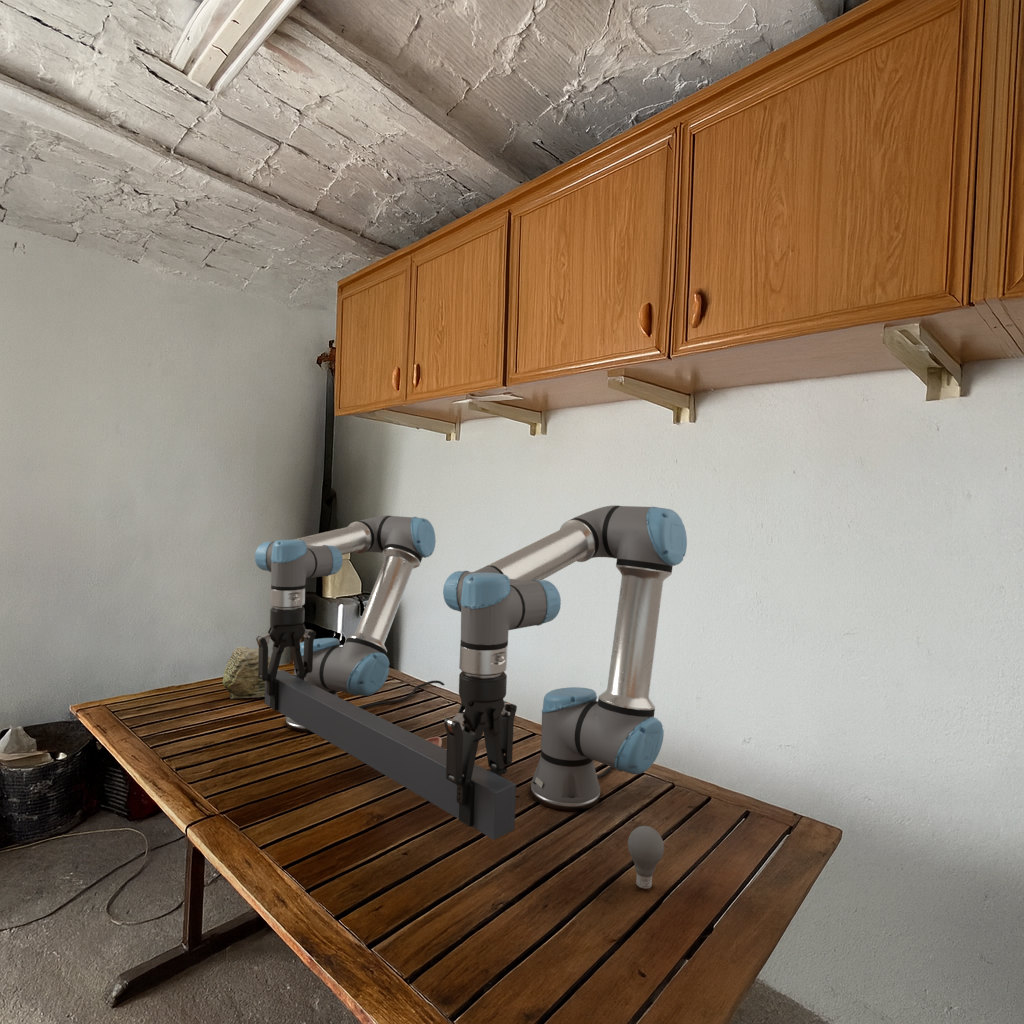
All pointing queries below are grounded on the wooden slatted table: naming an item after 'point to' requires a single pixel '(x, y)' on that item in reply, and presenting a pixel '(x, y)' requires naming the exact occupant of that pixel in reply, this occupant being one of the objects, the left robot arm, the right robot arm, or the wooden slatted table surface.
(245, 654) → the fossil
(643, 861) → the light bulb
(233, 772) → the wooden slatted table surface
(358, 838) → the wooden slatted table surface
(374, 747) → the post
